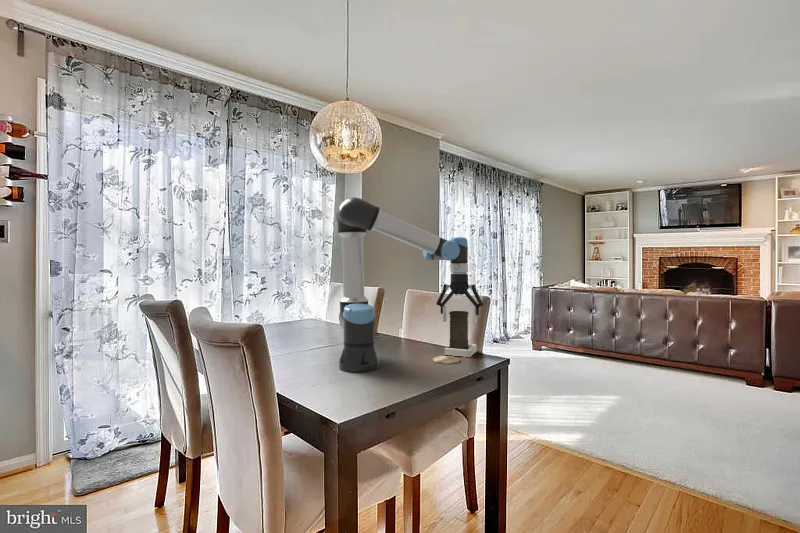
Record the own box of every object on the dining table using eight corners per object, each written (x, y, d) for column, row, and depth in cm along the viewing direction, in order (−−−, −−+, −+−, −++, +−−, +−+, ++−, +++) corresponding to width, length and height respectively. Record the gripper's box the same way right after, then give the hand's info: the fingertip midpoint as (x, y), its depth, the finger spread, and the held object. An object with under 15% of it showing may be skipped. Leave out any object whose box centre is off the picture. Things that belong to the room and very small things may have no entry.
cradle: (444, 355, 178) (444, 348, 178) (452, 348, 191) (452, 342, 191) (470, 357, 174) (470, 350, 174) (477, 350, 187) (477, 344, 187)
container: (470, 355, 178) (471, 313, 178) (449, 355, 178) (449, 313, 178) (467, 350, 187) (467, 310, 187) (447, 350, 187) (447, 310, 187)
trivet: (429, 362, 166) (429, 361, 166) (437, 356, 177) (437, 355, 177) (456, 365, 162) (456, 363, 162) (462, 358, 173) (462, 357, 173)
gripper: (429, 273, 183) (429, 322, 184) (486, 273, 174) (487, 324, 175) (434, 272, 190) (434, 319, 191) (489, 272, 181) (490, 322, 182)
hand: (459, 322), depth 183 cm, fingers open, 13 cm apart
